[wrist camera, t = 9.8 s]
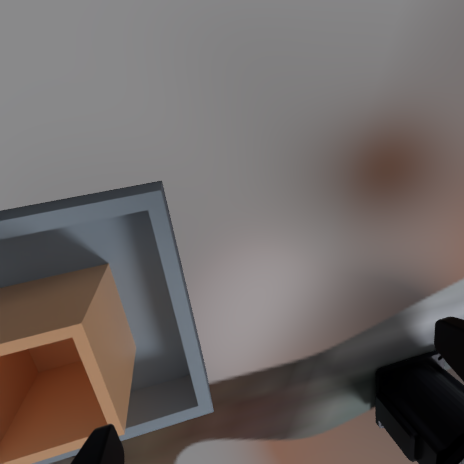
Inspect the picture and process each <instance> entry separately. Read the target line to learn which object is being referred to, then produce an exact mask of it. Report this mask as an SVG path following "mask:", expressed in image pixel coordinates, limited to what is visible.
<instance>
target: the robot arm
mask: <svg viewBox="0 0 464 464" xmlns="http://www.w3.org/2000/svg"><path fill="white" fill-rule="evenodd" d="M434 345H435V348H436V351H433V352H430V353H427V354H424V355H421V356H418V357H414V358H411V359H408V360H405V361H402V362H399V363H396V364H393V365H390V366H386V367H383V368H380V369H379V370H378V371H377V372H376V423H377V425H378V426H379V427H380V428H385V429H386V431H387V432H388V433H389V435H390V436H391V437H392V438H393V440H394V441H395V442H396V444H397V445H398V446H399V447H400V449H401V450H402V451H403V453H404V454H405V455H406V457H407V458H408V459H409V460H410V461H412V462H414V461H417V462H418V463H419V464H464V385H463V384H462V383H460V382H459V381H458V380H456V379H455V378H454V377H453V376H452V375H451V374H449V373H448V372H447V371H446V370H445V369H444V362H445V361H446V362H447V363H448V364H449V365H450V367H451V368H452V369H453V370H454V371H455V372H456V373H457V375H458V376H459V377H460V378H461V379H462V380H463V381H464V320H463V319H459V318H455V317H446V318H443V319H440V320H438V321H437V322H436V323H435V337H434ZM70 464H124V449H123V446H122V443H121V441H120V438H119V436H118V434H117V431H116V429H115V427H114V425H113V424H107V425H104V426H101V427H98V428H96V429H94V430H93V431H92V433H91V434H90V435H89V437H88V438H87V440H86V441H85V443H84V444H83V446H82V447H81V449H80V450H79V452H78V453H77V455H76V456H75V458H74V459H73V460H72V462H71V463H70Z"/></svg>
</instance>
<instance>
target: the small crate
mask: <svg viewBox="0 0 464 464" xmlns="http://www.w3.org/2000/svg"><path fill="white" fill-rule="evenodd" d="M135 353H136V345H135V342H134V339H133V336H132V333H131V330H130V327H129V324H128V321H127V318H126V315H125V312H124V309H123V306H122V302H121V299H120V296H119V293H118V290H117V287H116V284H115V281H114V278H113V275H112V272H111V269H110V266H109V263H108V264H104V265H99V266H95V267H90V268H86V269H82V270H77V271H73V272H68V273H64V274H60V275H55V276H51V277H46V278H42V279H38V280H33V281H29V282H24V283H20V284H15V285H11V286H7V287H2V288H0V464H32V463H36V462H39V461H42V460H45V459H48V458H51V457H55V456H58V455H61V454H64V453H67V452H70V451H73V450H77V449H80V448H81V447H82V446H83V444H84V443H85V441H86V440H87V438H88V437H89V435H90V434H91V433H92V431H93V430H94V429H96V428H98V427H101V426H104V425H107V424H113V425H114V427H115V429H116V431H117V434H118V436H121V435H124V434H125V427H126V420H127V413H128V405H129V398H130V390H131V383H132V375H133V368H134V361H135Z"/></svg>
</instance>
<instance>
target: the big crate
mask: <svg viewBox="0 0 464 464" xmlns="http://www.w3.org/2000/svg"><path fill="white" fill-rule="evenodd" d="M108 263H109V266H110V269H111V272H112V275H113V278H114V281H115V284H116V287H117V290H118V293H119V296H120V299H121V302H122V306H123V309H124V312H125V315H126V318H127V321H128V324H129V327H130V330H131V333H132V336H133V339H134V342H135V345H136V353H135V361H134V368H133V375H132V383H131V390H130V398H129V405H128V413H127V420H126V427H125V434H124V435H121V436H119V438H120V441H123V440H126V439H129V438H132V437H135V436H138V435H142V434H145V433H148V432H151V431H154V430H157V429H161V428H164V427H167V426H170V425H173V424H176V423H180V422H183V421H186V420H189V419H192V418H195V417H199V416H202V415H205V414H208V413H211V412H214V411H213V405H212V400H211V394H210V389H209V383H208V378H207V373H206V368H205V364H204V359H203V355H202V351H201V346H200V342H199V338H198V334H197V329H196V325H195V321H194V317H193V312H192V308H191V304H190V300H189V295H188V291H187V287H186V282H185V278H184V274H183V270H182V265H181V261H180V257H179V253H178V248H177V245H176V240H175V236H174V231H173V227H172V223H171V218H170V214H169V210H168V206H167V201H166V197H165V193H164V188H163V184H162V181H158V182H152V183H147V184H142V185H136V186H131V187H126V188H120V189H115V190H109V191H105V192H99V193H94V194H88V195H83V196H77V197H72V198H67V199H61V200H56V201H51V202H45V203H40V204H35V205H29V206H24V207H19V208H14V209H8V210H3V211H0V288H2V287H7V286H11V285H15V284H20V283H24V282H29V281H33V280H38V279H42V278H46V277H51V276H55V275H60V274H64V273H68V272H73V271H77V270H82V269H86V268H90V267H95V266H99V265H104V264H108ZM80 449H81V448H80ZM80 449H77V450H73V451H70V452H67V453H64V454H61V455H58V456H55V457H51V458H48V459H45V460H42V461H39V462H36V463H32V464H50V463H53V462H56V461H59V460H62V459H66V458H69V457H72V456H75V455H77V453H78V452H79V450H80Z"/></svg>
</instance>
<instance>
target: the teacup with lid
mask: <svg viewBox="0 0 464 464" xmlns="http://www.w3.org/2000/svg"><path fill="white" fill-rule="evenodd" d="M74 458H75V457H69V458H66V459H62V460H59V461H56V462H53V463H50V464H70V463H71V462H72V460H73V459H74Z"/></svg>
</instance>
